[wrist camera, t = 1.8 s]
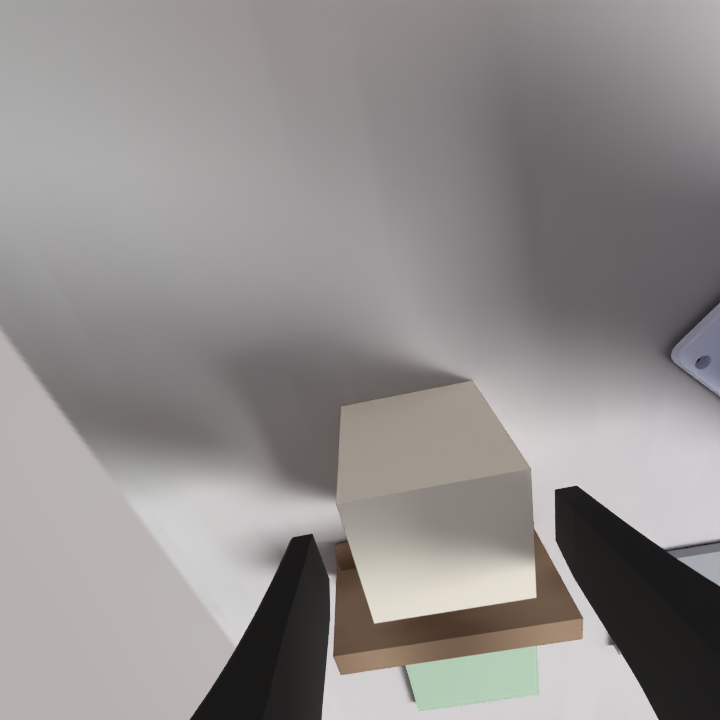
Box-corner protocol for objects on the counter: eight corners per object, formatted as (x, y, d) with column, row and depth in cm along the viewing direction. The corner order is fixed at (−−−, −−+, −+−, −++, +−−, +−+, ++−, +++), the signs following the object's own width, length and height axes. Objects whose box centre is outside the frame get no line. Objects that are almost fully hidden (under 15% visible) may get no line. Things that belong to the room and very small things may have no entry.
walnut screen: (532, 509, 16) (583, 600, 13) (534, 559, 18) (581, 655, 14) (331, 544, 17) (326, 640, 13) (347, 590, 18) (346, 689, 15)
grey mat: (778, 533, 17) (787, 540, 17) (748, 626, 20) (755, 634, 20) (622, 558, 18) (627, 566, 17) (614, 646, 21) (618, 654, 20)
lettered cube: (472, 379, 14) (530, 468, 9) (483, 484, 16) (536, 600, 11) (341, 405, 14) (336, 503, 10) (368, 505, 16) (375, 626, 12)
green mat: (532, 610, 19) (535, 618, 19) (536, 686, 22) (539, 694, 22) (397, 631, 20) (398, 639, 19) (417, 703, 22) (418, 711, 22)
